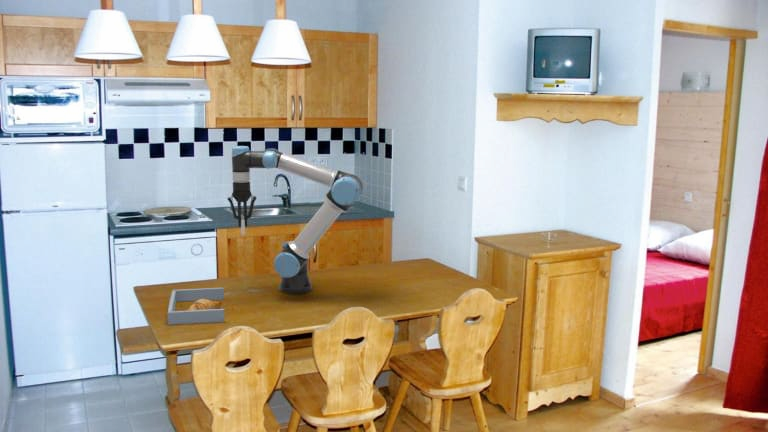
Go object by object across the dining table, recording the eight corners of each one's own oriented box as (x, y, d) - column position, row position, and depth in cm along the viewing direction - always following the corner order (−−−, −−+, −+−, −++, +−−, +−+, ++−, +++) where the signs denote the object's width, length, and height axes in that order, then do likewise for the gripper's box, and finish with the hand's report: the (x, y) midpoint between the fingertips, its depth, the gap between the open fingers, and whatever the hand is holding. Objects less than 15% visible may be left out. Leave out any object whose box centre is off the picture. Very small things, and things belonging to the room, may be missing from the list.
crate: (223, 298, 315) (223, 287, 314) (224, 321, 283) (224, 309, 283) (172, 300, 310) (172, 289, 309) (167, 324, 278) (167, 312, 278)
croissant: (187, 330, 283) (193, 315, 279) (171, 315, 286) (177, 300, 283) (224, 316, 300) (230, 301, 297) (209, 302, 304) (215, 287, 301)
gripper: (255, 179, 315) (256, 231, 320) (225, 180, 312) (227, 232, 316) (257, 181, 308) (258, 234, 313) (226, 182, 305) (228, 236, 309)
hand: (243, 233), depth 314 cm, fingers closed
